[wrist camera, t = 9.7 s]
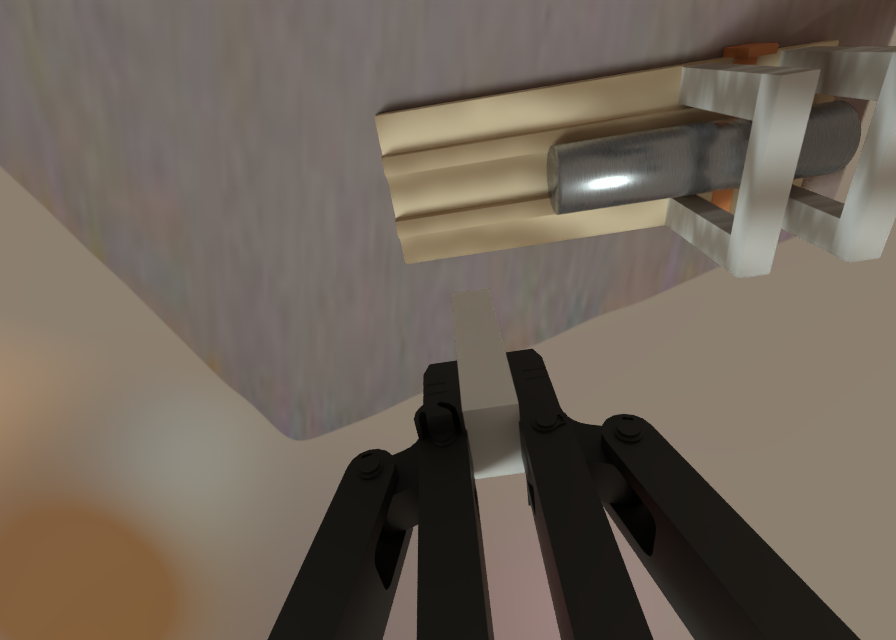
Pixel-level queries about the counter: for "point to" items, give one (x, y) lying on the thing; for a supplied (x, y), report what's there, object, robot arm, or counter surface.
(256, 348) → the counter surface
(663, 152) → the tube
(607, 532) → the robot arm
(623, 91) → the rail
